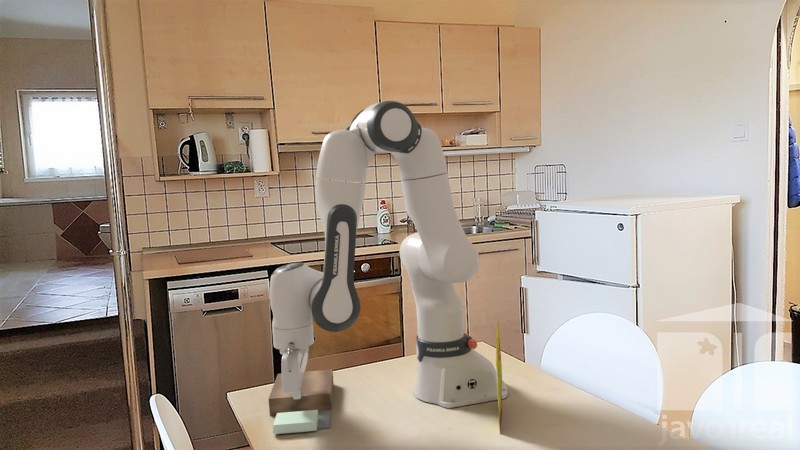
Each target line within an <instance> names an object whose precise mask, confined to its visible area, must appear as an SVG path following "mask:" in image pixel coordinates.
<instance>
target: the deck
mask: <svg viewBox="0 0 800 450" xmlns="http://www.w3.org/2000/svg"><path fill="white" fill-rule="evenodd" d="M334 383H335V382H334V369H323V370H313V371H312V370H309V371H305V373H304V377H303V381H302V395H301V398H300V399H293V393H284V392H283V388H282V373H277V374H276V378H275V381H274V383H273V387H272V389H271V390H270V391H271V392H270V394H269V397H268V409H269V410H268V411H269V416H270V417H271V416H276V414H277V413H284V412H296V411H308V410H318V411H322V410H331V411H332V407H333V406H332V405H333V397H334V396H333V395H334V386H335V384H334Z"/></svg>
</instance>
